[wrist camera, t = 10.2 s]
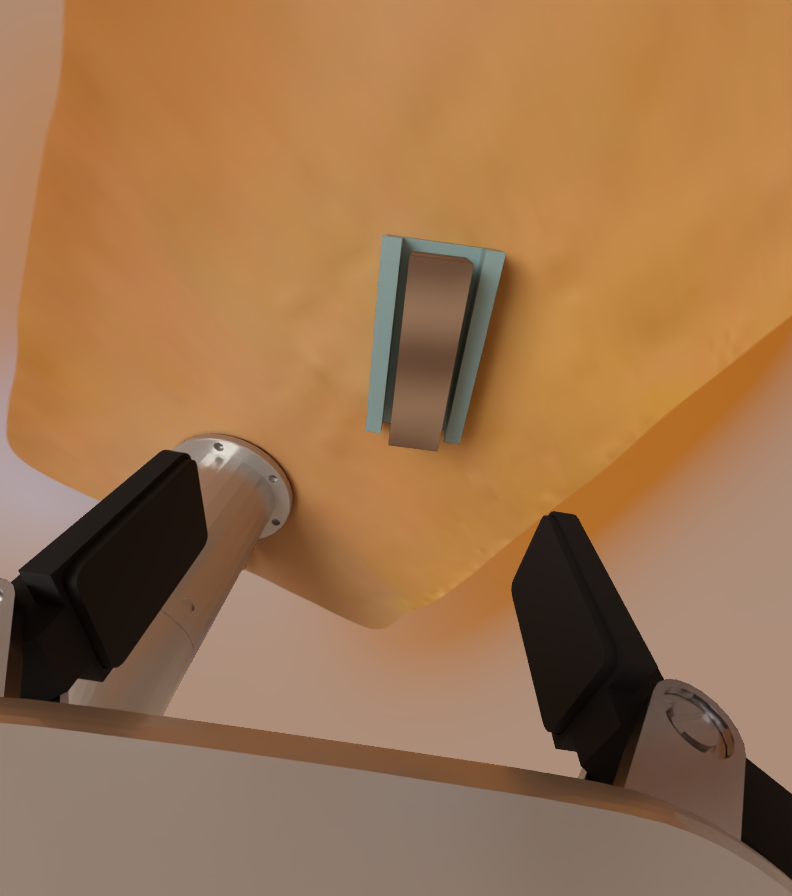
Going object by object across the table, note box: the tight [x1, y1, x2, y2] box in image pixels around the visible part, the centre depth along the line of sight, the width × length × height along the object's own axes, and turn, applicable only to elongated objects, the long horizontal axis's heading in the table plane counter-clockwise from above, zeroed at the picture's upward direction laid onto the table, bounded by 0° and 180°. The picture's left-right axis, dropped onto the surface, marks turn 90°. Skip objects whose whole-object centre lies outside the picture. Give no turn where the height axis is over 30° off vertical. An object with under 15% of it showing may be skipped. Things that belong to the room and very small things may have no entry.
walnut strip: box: [389, 251, 474, 451], centre depth 25 cm, size 12×4×5 cm, turn 174°
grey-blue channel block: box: [366, 235, 506, 444], centre depth 27 cm, size 14×8×3 cm, turn 173°
